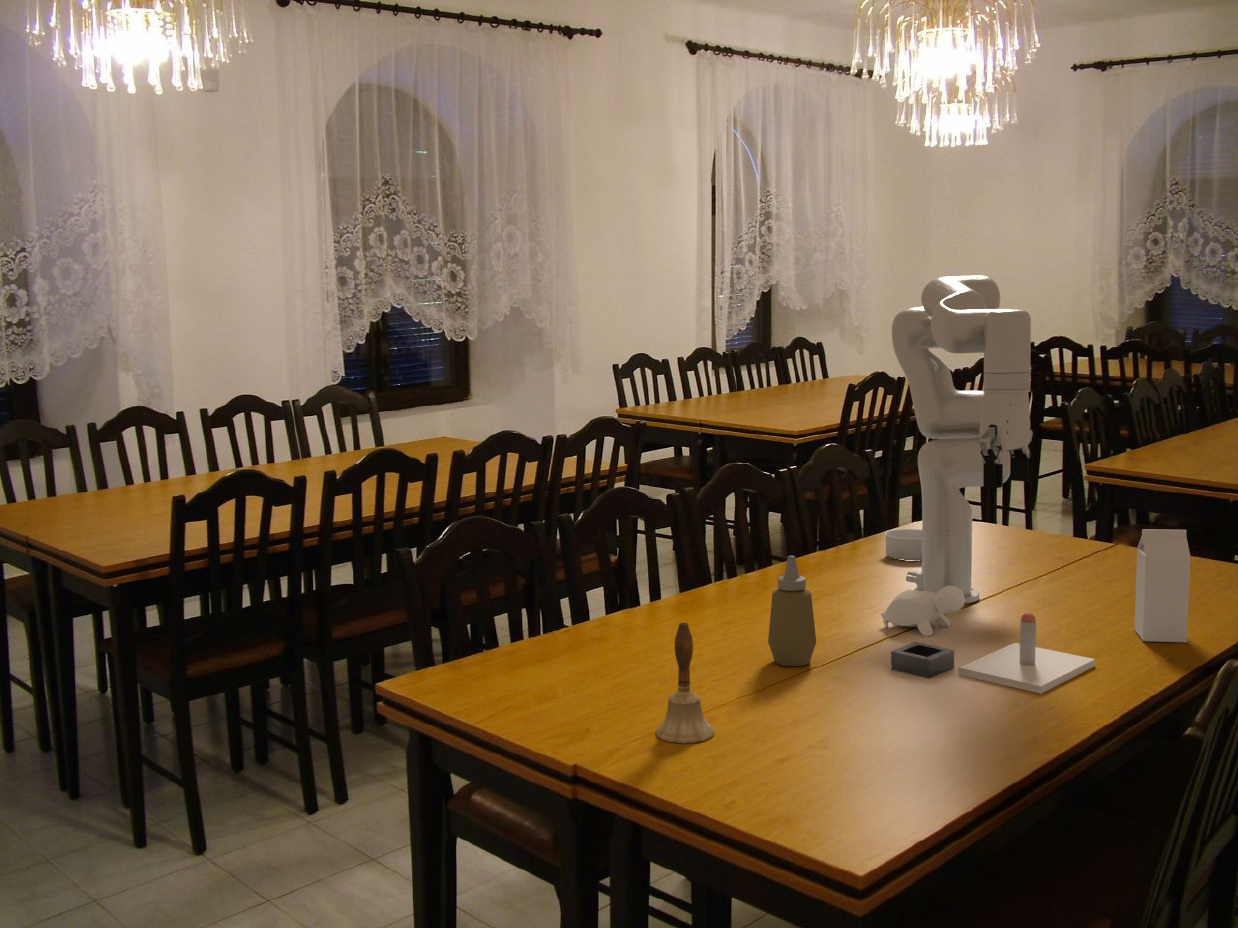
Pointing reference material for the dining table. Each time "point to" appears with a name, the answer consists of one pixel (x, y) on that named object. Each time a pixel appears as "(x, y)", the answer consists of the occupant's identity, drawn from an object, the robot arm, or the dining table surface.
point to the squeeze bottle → (792, 619)
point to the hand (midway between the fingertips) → (1006, 483)
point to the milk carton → (1162, 586)
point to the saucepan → (904, 544)
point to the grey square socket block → (922, 659)
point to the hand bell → (684, 700)
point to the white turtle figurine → (924, 608)
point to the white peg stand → (1027, 663)
